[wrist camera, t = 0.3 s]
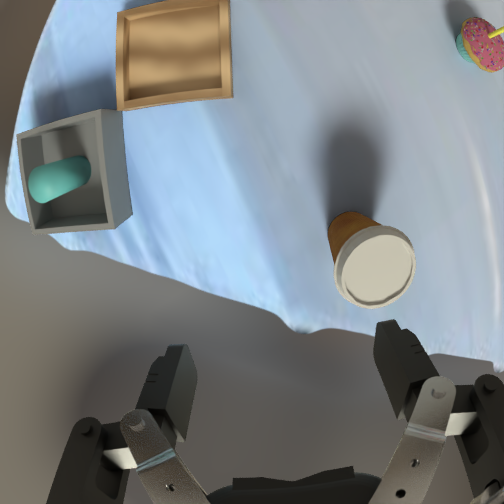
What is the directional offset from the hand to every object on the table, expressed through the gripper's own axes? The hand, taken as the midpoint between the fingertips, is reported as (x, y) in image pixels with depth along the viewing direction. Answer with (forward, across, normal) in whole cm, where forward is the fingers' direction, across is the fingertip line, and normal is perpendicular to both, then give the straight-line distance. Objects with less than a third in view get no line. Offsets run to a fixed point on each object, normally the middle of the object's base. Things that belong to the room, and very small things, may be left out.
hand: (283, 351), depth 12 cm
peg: (+28, +25, -8) cm, 38 cm away
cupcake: (+29, -34, -21) cm, 49 cm away
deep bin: (+28, +25, -8) cm, 39 cm away
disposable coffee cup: (+29, -11, +7) cm, 31 cm away
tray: (+28, +9, -20) cm, 36 cm away
